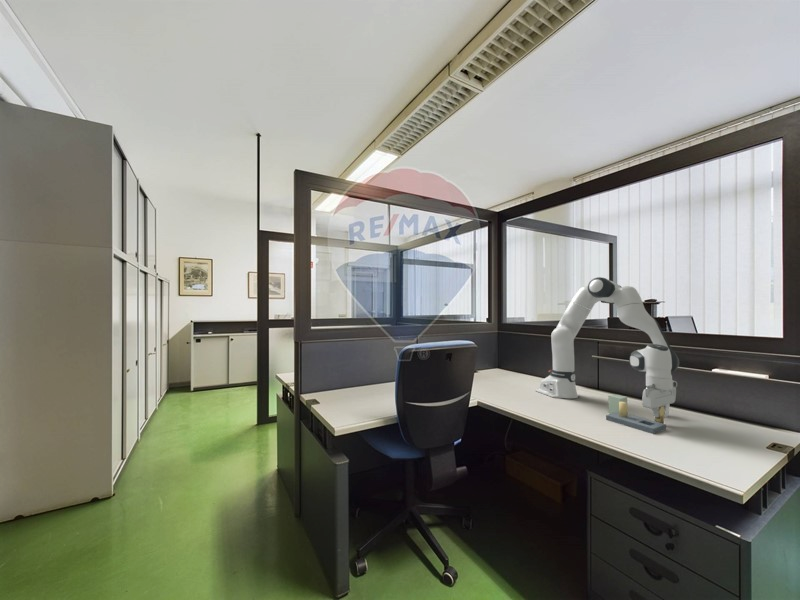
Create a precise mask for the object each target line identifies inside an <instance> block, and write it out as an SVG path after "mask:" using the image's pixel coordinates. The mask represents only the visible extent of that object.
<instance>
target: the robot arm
mask: <svg viewBox="0 0 800 600" xmlns="http://www.w3.org/2000/svg"><path fill="white" fill-rule="evenodd" d="M598 302H600V303H603V304H611V305H613V304H614V306H615V309H616V313H617V316H618V319H619V320H620V322H621V323H623V324H624V325H626V326H628V327H630V328H635V329H636V330H640V331H642V332H644V333H645V334H647V335H648V337H649V338H650V340H651V342H652V343H651V344H647V345H646V347H644V348H641V349H637V350H634V351H632V352H631V353H630V355H629V359H628V360H629V361H628V362H629V365H630V366H631V368H632V369H634V370H635V371H638V372H645V386H646V387H645V389H643V391H642V398H641V405H642V406H643V408H646V409H649V410H651V411H652V414H653V417H654V418H655V417H660V413H659V411H658V409H659V407H661V406H664V415H665V410H666V408H667V405H668V404H675V402H676V401H677V400H676V398H677V397H676V396H677V387H678V382H677V381H675V380H673V375H672V373H674V372H675V371H676V370H677V369H678V368H679V366H680V359H679V357H678V356H677V353H676V352H675V351H674V350H673V349H672V346H671V344H670V343H669V340H668V339H667V337H666V335H665V333H664V331H663V329H662V327H661V325H660V323H659V322H658V321H657V320H656V319H655V318H654V317H652V316H651V314H650V313H648V311H647V310H646V308H645V305H644V303H643V299H642V298H641V296H640V293H639V292H638V290H637V289H636V287H634V286H629V285H628V286H627V285H626V286H621V285H620V284H618V283H616V282H615V281H613V280H610V279H607V278H605V277H600V276H599V277H595V278H592V279H591V280H590V281H589V282H588V284H587V285H585V286H582V287H580V288H579V289H578V290H577V291H576V293H575V294H574V295H573V297H572V299H571V300H570V302H569V303H568V305H567V307H566V309H565V311H564V312H563V315H562V316H561V318H560V320H559V322H558V324H557V325H556V328H554V329H553V331H552V332H551V336H550V338H551V339H550V340H551V343H550V344H551V353H552V354H551V356H552V368H551V369H549V370H548V373H549V375H548V376H546V377H545V378H543V379H541V381H540V384H539V387H537V388H535V392H537V393H539V394H543V395H545V396H548V397H552V398H555V399H556V398H560V399H578V398H579V394H578V392H577V391H578V390H577V386H576V371H575V370H576V369H575V345H574V342H575V338H576V336H577V335H578V333H579V332H580V330H581V328H582V327H583V324H584V323H585V322H586V320H587V318H588V316H589V315H590V313H591V312H592V310H593V308H594V306H595V305H596V304H597V303H598Z"/></svg>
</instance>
